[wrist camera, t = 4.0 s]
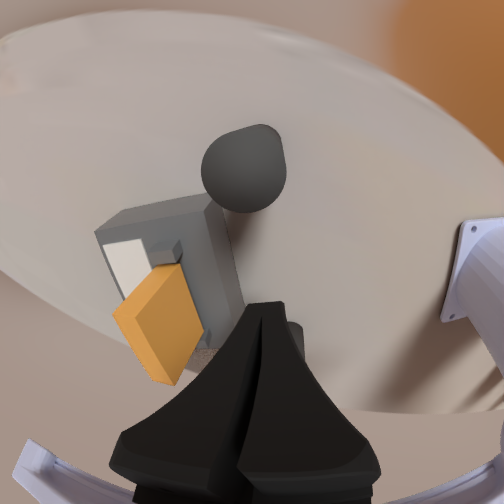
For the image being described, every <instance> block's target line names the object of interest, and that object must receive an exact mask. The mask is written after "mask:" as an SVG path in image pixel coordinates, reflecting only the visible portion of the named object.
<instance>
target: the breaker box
mask: <svg viewBox="0 0 504 504" xmlns="http://www.w3.org/2000/svg"><path fill="white" fill-rule="evenodd" d="M94 233H95V235H96V238H97V241H98V243H99V246H100V248H101V251H102V253H103V256H104V258H105V261H106V263H107V265H108V268H109V270H110V272H111V275H112V277H113V279H114V281H115V284H116V286H117V288H118V290H119V292H120V294H121V296H122V298H123V301H124V300H125V299H126V298H127V297H128V296H129V295H130V294H131V293H132V291H133V290H134V289H135V288H136V287H137V286H138V285H139V284H140V283H141V282H142V281H143V280H144V279H145V277H146V276H147V275H148V274H149V273H150V272H151V271H152V270H153V269H154V268H155V267H156V266H157V265H158V264H180V266H181V269H182V272H183V275H184V277H185V280H186V283H187V286H188V289H189V292H190V295H191V297H192V300H193V303H194V306H195V308H196V311H197V314H198V317H199V319H200V322H201V324H202V327H203V330H204V332H203V334H202V336H201V338H200V340H199V342H198V343H197V345H196V347H195V349H220V348H221V347H222V345H223V344H224V342H225V341H226V339H227V338H228V336H229V335H230V333H231V332H232V330H233V329H234V327H235V326H236V324H237V322H238V321H239V319H240V317H241V316H242V314H243V312H244V310H245V305H244V301H243V297H242V293H241V289H240V284H239V280H238V276H237V272H236V267H235V263H234V259H233V254H232V250H231V246H230V241H229V237H228V233H227V228H226V224H225V219H224V215H223V210H222V206H220V205H219V204H217V203H216V202H215V201H214V200H213V199H212V198H211V197H210V196H209V194H208V193H204V194H199V195H193V196H188V197H183V198H177V199H172V200H167V201H162V202H158V203H153V204H148V205H144V206H139V207H135V208H130V209H126V210H122V211H120V212H119V213H118V214H116V215H115V216H114V217H112V218H111V219H110V220H108V221H107V222H106V223H104V224H103V225H102V226H100V227H99V228H98V229H97V230H95V231H94Z"/></svg>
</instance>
